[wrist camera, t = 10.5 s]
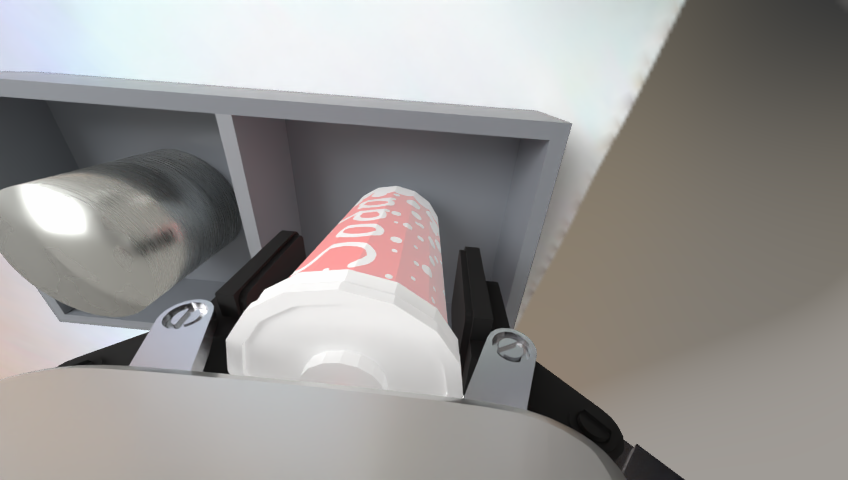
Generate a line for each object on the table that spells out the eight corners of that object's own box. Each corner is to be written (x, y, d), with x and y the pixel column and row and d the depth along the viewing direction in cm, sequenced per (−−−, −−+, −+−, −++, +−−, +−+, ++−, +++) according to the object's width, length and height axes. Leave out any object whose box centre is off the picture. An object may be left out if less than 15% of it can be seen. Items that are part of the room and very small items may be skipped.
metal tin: (115, 144, 16) (-54, 178, 10) (227, 153, 15) (114, 192, 10) (157, 244, 18) (42, 310, 13) (252, 252, 18) (174, 323, 13)
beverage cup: (462, 176, 14) (584, 874, 2) (446, 281, 17) (451, 813, 5) (333, 164, 14) (-404, 744, 2) (340, 270, 17) (73, 765, 5)
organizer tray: (34, 71, 15) (-116, 69, 11) (536, 110, 14) (572, 123, 10) (133, 274, 21) (59, 321, 17) (491, 308, 20) (503, 364, 16)
